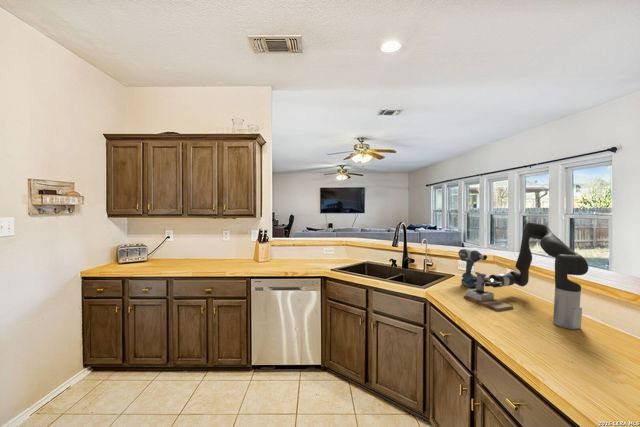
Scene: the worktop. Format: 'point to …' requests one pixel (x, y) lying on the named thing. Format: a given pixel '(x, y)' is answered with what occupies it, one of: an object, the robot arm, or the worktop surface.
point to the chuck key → (480, 282)
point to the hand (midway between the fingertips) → (478, 282)
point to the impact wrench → (470, 265)
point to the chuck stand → (486, 300)
